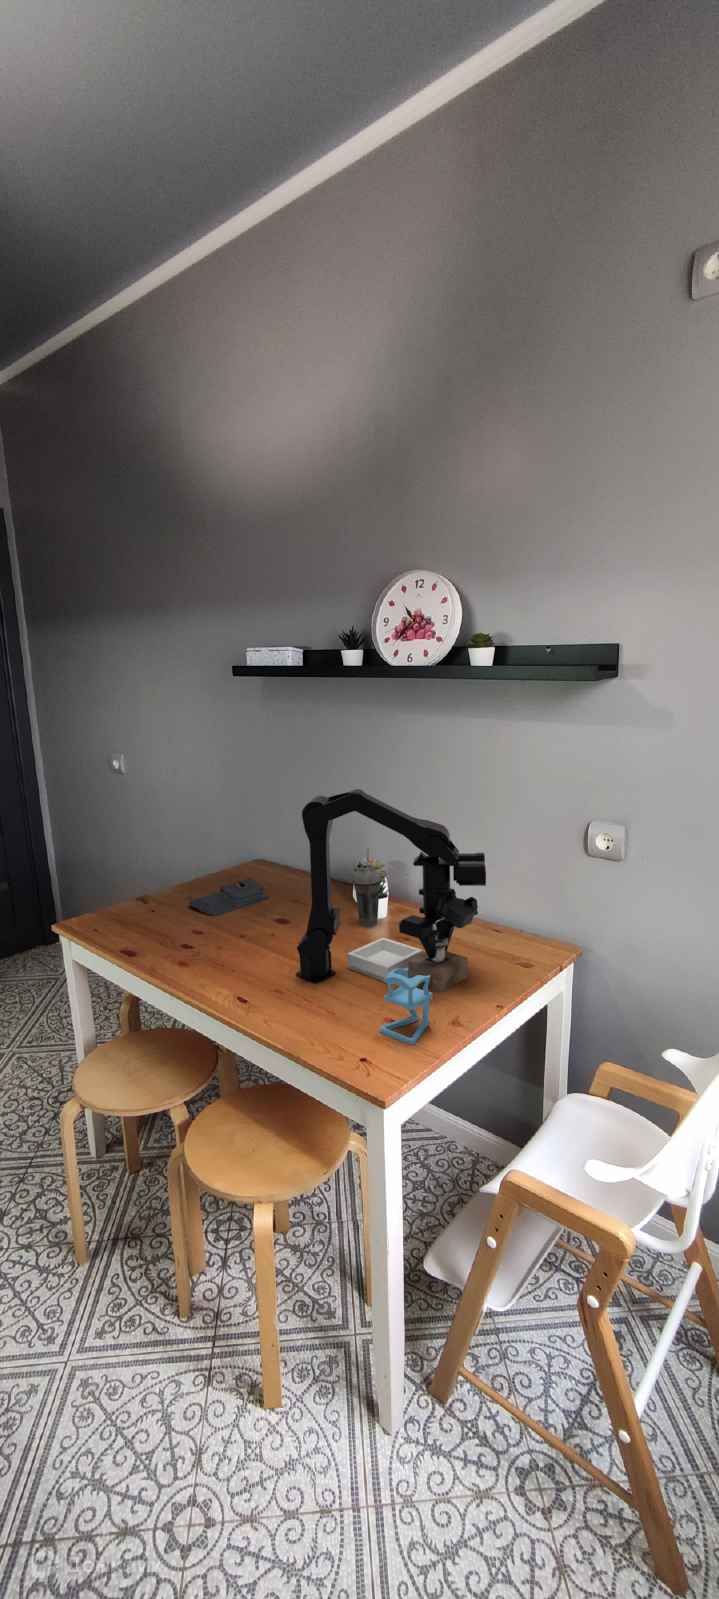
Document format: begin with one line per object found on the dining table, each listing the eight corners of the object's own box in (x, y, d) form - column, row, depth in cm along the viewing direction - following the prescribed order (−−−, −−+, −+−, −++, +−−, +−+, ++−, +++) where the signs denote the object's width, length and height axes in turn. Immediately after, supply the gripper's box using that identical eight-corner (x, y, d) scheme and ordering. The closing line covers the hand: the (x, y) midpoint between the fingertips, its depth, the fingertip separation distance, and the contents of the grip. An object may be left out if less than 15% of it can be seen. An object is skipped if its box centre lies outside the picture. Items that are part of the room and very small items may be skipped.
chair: (439, 1027, 137) (438, 967, 135) (412, 1045, 131) (410, 983, 129) (407, 1014, 143) (405, 957, 140) (379, 1032, 137) (377, 972, 134)
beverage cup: (349, 926, 189) (346, 851, 185) (362, 916, 196) (359, 844, 192) (374, 930, 186) (372, 854, 182) (387, 920, 192) (384, 847, 188)
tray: (387, 983, 156) (387, 967, 156) (347, 968, 165) (347, 953, 164) (423, 964, 165) (422, 950, 164) (383, 951, 173) (382, 937, 172)
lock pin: (440, 985, 155) (439, 944, 153) (423, 979, 158) (423, 939, 156) (452, 977, 158) (452, 937, 156) (436, 972, 161) (435, 932, 159)
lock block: (442, 992, 151) (441, 971, 150) (408, 979, 157) (408, 960, 157) (467, 977, 158) (467, 957, 157) (434, 966, 164) (434, 947, 163)
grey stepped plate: (181, 908, 210) (180, 892, 209) (243, 888, 225) (242, 873, 224) (212, 919, 199) (211, 903, 198) (275, 898, 215) (274, 883, 214)
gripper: (440, 905, 141) (441, 980, 144) (494, 880, 154) (494, 950, 158) (396, 893, 149) (398, 965, 152) (451, 871, 162) (452, 937, 165)
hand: (437, 954), depth 156 cm, fingers closed on lock pin, 4 cm apart
